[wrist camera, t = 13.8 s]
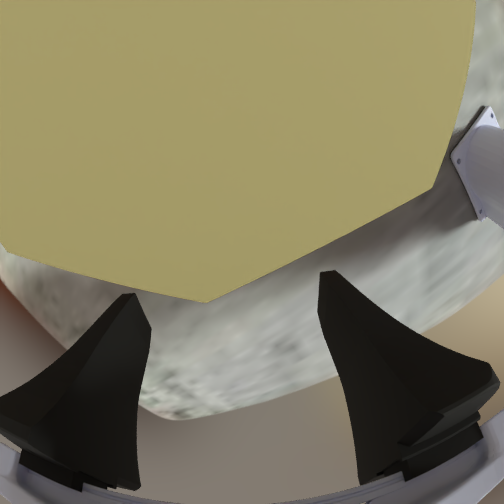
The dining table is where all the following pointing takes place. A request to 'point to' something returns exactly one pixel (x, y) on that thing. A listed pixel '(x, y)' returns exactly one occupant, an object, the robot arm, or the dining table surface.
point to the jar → (217, 130)
